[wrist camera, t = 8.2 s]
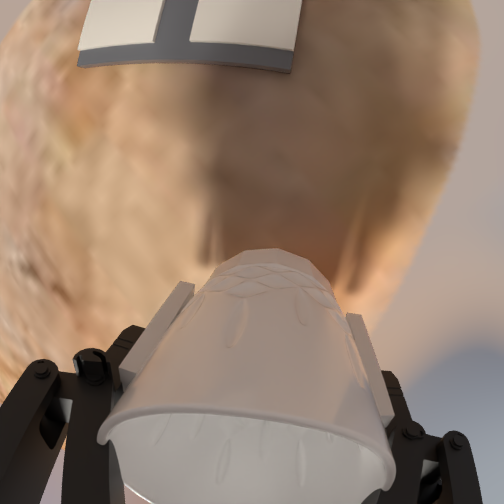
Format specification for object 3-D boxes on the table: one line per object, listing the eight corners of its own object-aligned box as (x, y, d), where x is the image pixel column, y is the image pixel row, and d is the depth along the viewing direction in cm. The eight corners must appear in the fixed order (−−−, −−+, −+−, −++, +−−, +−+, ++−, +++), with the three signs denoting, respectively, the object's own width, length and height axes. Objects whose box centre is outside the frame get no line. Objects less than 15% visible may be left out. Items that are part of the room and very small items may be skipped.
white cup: (244, 384, 17) (213, 536, 8) (162, 281, 15) (49, 426, 6) (368, 332, 15) (417, 500, 6) (298, 202, 13) (323, 344, 4)
